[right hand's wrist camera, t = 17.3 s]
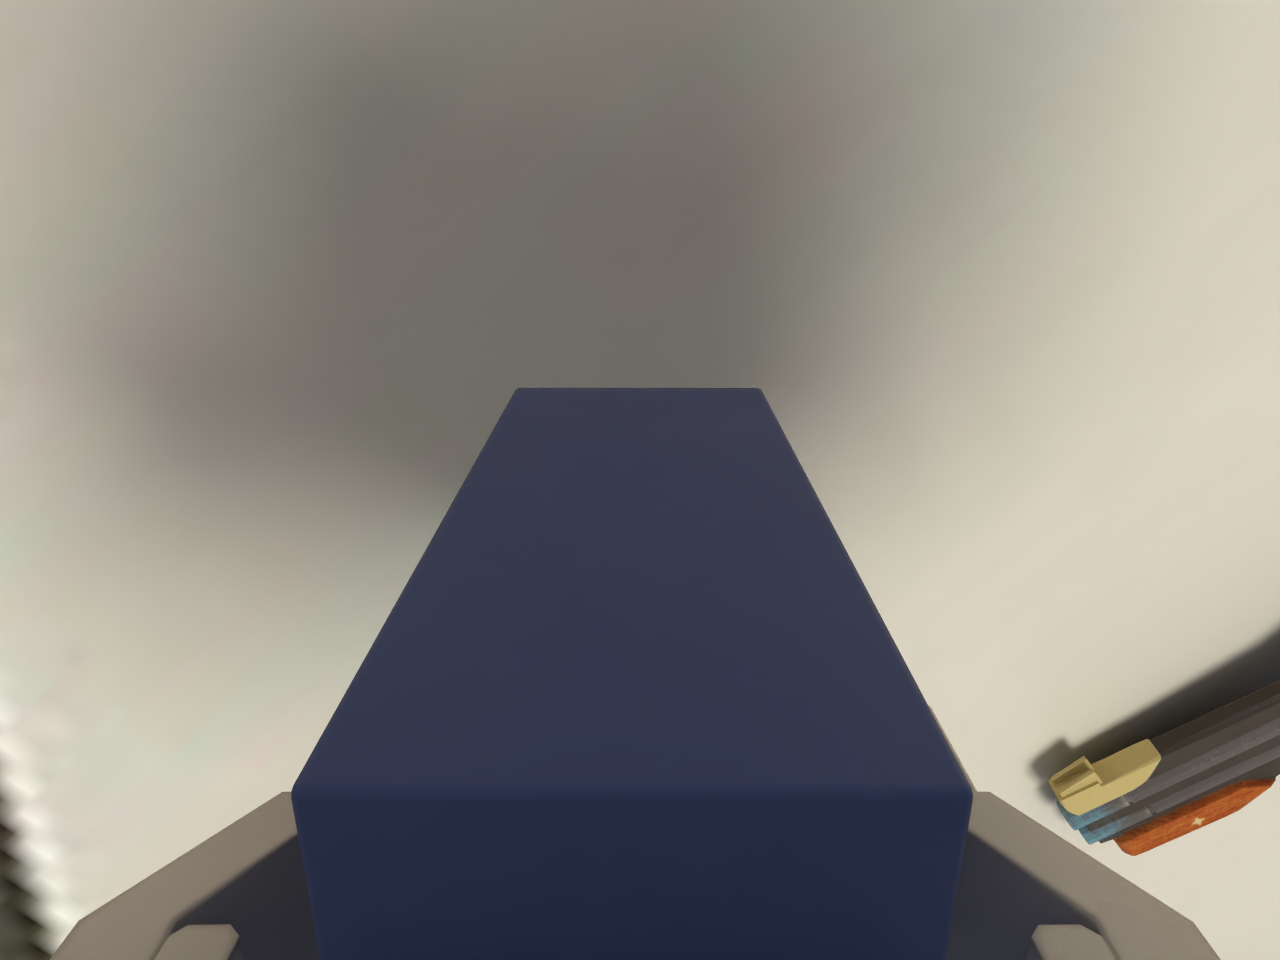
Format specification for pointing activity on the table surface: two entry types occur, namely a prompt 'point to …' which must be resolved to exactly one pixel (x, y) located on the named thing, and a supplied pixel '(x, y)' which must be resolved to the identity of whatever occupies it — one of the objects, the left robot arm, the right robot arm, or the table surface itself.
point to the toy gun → (1176, 776)
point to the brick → (633, 715)
